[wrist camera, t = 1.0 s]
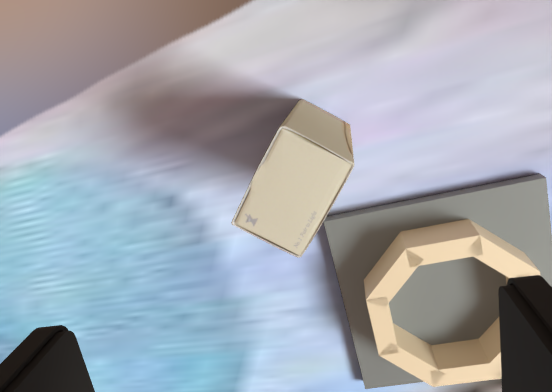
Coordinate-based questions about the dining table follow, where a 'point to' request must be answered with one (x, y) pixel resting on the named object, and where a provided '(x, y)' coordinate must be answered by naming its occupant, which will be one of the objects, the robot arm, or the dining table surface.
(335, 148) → the skincare box
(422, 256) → the collar board
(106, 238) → the dining table surface
